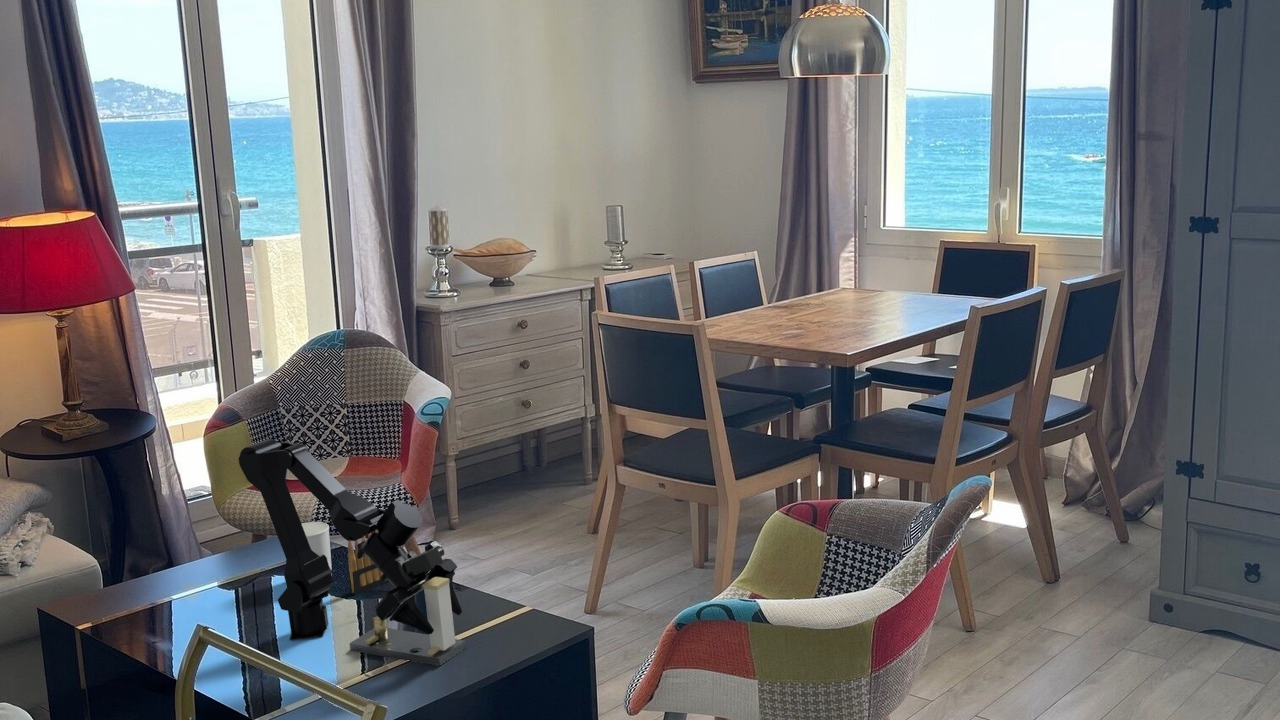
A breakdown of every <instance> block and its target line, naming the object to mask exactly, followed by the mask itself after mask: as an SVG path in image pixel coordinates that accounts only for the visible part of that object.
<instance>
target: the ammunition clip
mask: <svg viewBox="0 0 1280 720" xmlns="http://www.w3.org/2000/svg"><path fill="white" fill-rule="evenodd" d="M377 532H378V530H376V531H374V533H377ZM372 534H373V533H370V534H368V535H367V536H368V537H367V538H366V536H364V537H362V538H361V541H360V539H358V540H356V541H354V545H353V541H348V540H347V542H348V543H347V553H348V554H347V555H348V556H347V557H348V558H347V561H348V570H347V571H348V582H349V593H350V594H352V595H359V594H361V593H364V592H366V591H368V590H370V589H373V588H376V587H378V586H381V585H384V584H386V583H388V582H390V581H389V580H386V581H384V582H383V581H382V579H381V578H380V577H381V576H382V575H383V573H382V572H381V571H380V570H379V568H378V567H377V566H376V565H375V564H374V563H373V561H372V560H371V559H370V558H369V557H368V556H367V555H366V556H364V557H362V558H361V559H358V558H357V552H358V546H357V545H358V544H359V543H361V542H363V541H366V540H367V539H368V538H369V536H370V535H372Z"/></svg>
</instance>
